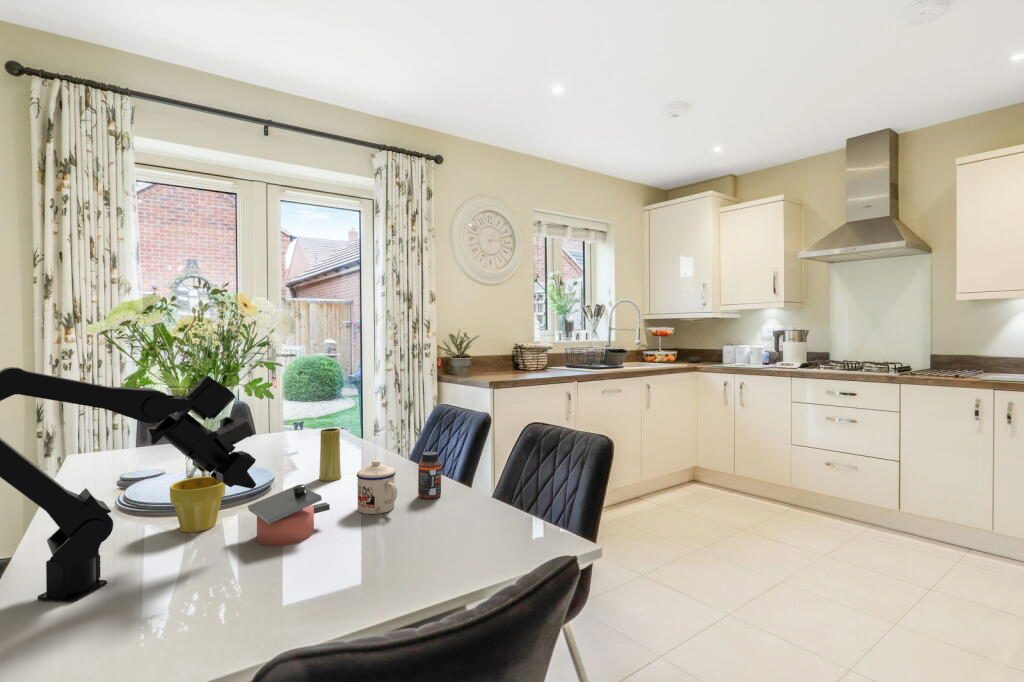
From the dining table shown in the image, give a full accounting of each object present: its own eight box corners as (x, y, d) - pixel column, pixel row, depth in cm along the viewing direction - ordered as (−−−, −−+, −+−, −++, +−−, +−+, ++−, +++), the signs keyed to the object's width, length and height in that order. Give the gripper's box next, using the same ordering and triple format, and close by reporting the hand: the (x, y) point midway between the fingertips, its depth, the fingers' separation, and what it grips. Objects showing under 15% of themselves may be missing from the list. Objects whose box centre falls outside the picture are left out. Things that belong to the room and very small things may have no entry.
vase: (318, 477, 155) (318, 428, 155) (339, 474, 158) (339, 427, 157) (320, 482, 150) (320, 432, 149) (342, 480, 152) (342, 430, 152)
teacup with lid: (348, 509, 127) (348, 461, 127) (379, 500, 134) (380, 454, 134) (379, 520, 120) (379, 469, 119) (410, 510, 127) (411, 462, 127)
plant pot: (200, 538, 109) (200, 491, 109) (158, 534, 111) (157, 487, 111) (236, 520, 119) (236, 477, 119) (196, 517, 121) (196, 474, 121)
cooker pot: (269, 550, 103) (269, 525, 103) (248, 535, 111) (248, 511, 111) (339, 530, 114) (339, 507, 113) (316, 517, 121) (316, 496, 121)
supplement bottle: (439, 499, 135) (439, 455, 135) (416, 499, 135) (416, 455, 135) (442, 492, 141) (443, 450, 141) (420, 492, 141) (420, 450, 141)
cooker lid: (269, 524, 103) (266, 511, 103) (248, 510, 111) (245, 498, 110) (321, 500, 111) (319, 488, 110) (299, 488, 118) (296, 478, 118)
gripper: (244, 410, 96) (302, 461, 104) (210, 401, 109) (264, 447, 117) (195, 460, 90) (261, 510, 98) (165, 444, 103) (226, 490, 111)
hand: (254, 486), depth 106 cm, fingers closed
